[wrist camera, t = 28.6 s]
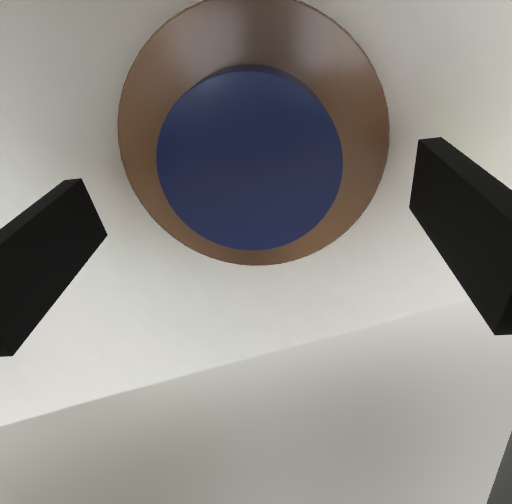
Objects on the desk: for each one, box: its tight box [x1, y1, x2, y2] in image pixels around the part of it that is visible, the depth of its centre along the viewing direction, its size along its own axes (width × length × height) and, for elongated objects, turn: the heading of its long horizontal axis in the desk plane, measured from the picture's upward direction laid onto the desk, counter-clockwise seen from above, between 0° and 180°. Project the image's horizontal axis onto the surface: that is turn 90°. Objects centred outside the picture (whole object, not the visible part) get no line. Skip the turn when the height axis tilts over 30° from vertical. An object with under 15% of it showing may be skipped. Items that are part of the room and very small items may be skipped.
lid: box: [156, 64, 343, 251], centre depth 16 cm, size 8×8×2 cm
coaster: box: [118, 0, 390, 266], centre depth 17 cm, size 13×13×1 cm
